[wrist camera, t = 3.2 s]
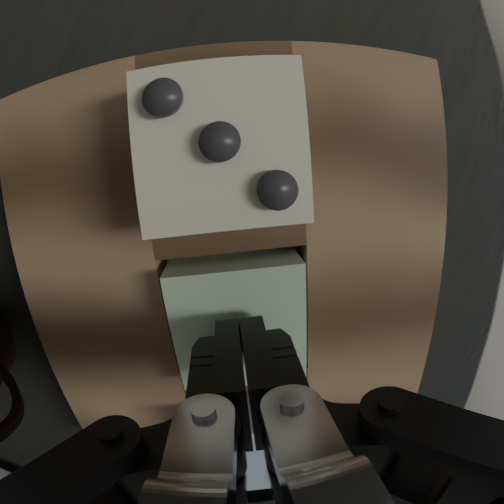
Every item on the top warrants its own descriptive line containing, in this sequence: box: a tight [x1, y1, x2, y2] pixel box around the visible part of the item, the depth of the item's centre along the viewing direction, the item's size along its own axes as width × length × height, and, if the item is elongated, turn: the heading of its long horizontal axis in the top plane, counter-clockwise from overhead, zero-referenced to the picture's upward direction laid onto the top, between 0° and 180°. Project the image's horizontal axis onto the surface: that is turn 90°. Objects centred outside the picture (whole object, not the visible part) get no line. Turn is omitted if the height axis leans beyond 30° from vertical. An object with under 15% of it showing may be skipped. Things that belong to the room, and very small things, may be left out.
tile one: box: [160, 246, 307, 391], centre depth 11 cm, size 4×4×3 cm
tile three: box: [126, 55, 314, 240], centre depth 9 cm, size 4×4×3 cm
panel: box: [0, 41, 447, 429], centre depth 13 cm, size 19×17×4 cm
